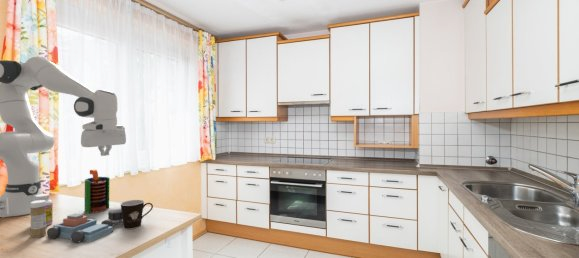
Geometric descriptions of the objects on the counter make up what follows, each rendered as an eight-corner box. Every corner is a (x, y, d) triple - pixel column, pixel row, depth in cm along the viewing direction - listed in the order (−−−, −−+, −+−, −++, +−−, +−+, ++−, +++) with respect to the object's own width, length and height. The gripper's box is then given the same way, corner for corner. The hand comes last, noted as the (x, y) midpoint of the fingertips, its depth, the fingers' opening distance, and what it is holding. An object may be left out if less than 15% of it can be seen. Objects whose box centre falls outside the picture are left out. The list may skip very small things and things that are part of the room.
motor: (94, 214, 133) (94, 172, 132) (79, 212, 134) (78, 171, 134) (112, 207, 143) (112, 168, 142) (97, 206, 144) (97, 168, 144)
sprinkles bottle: (36, 233, 109) (36, 199, 109) (49, 233, 110) (49, 199, 109) (27, 238, 105) (26, 203, 104) (40, 238, 105) (39, 202, 105)
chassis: (43, 237, 106) (42, 227, 106) (79, 224, 119) (79, 215, 119) (83, 244, 101) (83, 233, 101) (116, 229, 114) (116, 220, 114)
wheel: (104, 219, 120) (104, 210, 120) (118, 214, 127) (118, 205, 127) (117, 221, 119) (117, 211, 118) (130, 215, 125) (130, 207, 125)
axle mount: (106, 223, 121) (106, 212, 120) (118, 219, 126) (118, 208, 126) (117, 225, 119) (117, 214, 119) (128, 220, 125) (128, 210, 125)
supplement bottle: (39, 228, 114) (39, 197, 114) (27, 227, 116) (27, 196, 115) (56, 223, 121) (56, 193, 120) (45, 221, 122) (44, 192, 122)
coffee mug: (117, 230, 113) (117, 206, 113) (124, 223, 122) (124, 200, 121) (149, 228, 116) (149, 204, 116) (153, 220, 125) (153, 198, 124)
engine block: (63, 229, 109) (63, 216, 109) (75, 224, 114) (75, 212, 114) (74, 230, 108) (74, 218, 107) (87, 226, 112) (87, 213, 112)
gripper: (119, 125, 138) (118, 152, 139) (78, 125, 119) (77, 157, 119) (129, 125, 137) (128, 153, 137) (90, 126, 117) (89, 158, 117)
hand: (104, 155), depth 128 cm, fingers closed
